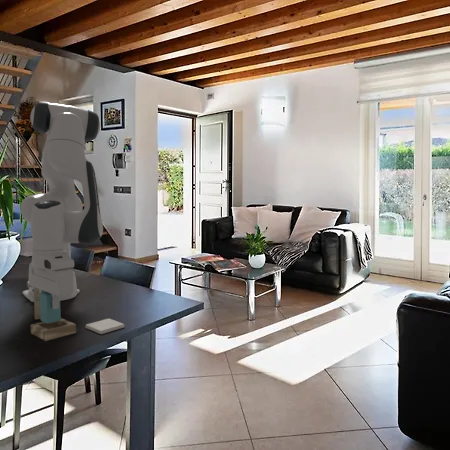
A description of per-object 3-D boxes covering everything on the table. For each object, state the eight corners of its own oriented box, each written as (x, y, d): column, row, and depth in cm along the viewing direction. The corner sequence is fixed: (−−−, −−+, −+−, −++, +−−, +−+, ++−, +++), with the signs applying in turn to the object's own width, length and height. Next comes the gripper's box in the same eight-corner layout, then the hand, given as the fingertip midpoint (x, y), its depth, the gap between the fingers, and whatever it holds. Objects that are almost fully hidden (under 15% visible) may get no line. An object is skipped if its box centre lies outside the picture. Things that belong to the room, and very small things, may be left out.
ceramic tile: (85, 327, 129) (85, 324, 129) (108, 321, 135) (108, 318, 135) (100, 334, 124) (100, 330, 124) (124, 327, 130) (124, 324, 129)
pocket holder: (30, 333, 124) (30, 324, 124) (60, 325, 131) (60, 317, 131) (45, 341, 118) (45, 332, 118) (76, 332, 125) (75, 324, 125)
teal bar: (40, 320, 124) (39, 293, 123) (54, 317, 127) (53, 290, 126) (47, 323, 121) (46, 295, 120) (60, 320, 124) (60, 293, 123)
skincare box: (34, 320, 136) (32, 282, 135) (35, 315, 140) (34, 279, 139) (55, 318, 138) (54, 280, 137) (56, 314, 142) (55, 277, 141)
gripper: (22, 255, 127) (23, 301, 128) (55, 265, 113) (56, 316, 115) (43, 252, 132) (44, 297, 133) (77, 262, 118) (78, 311, 119)
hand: (50, 306), depth 124 cm, fingers closed on teal bar, 4 cm apart
